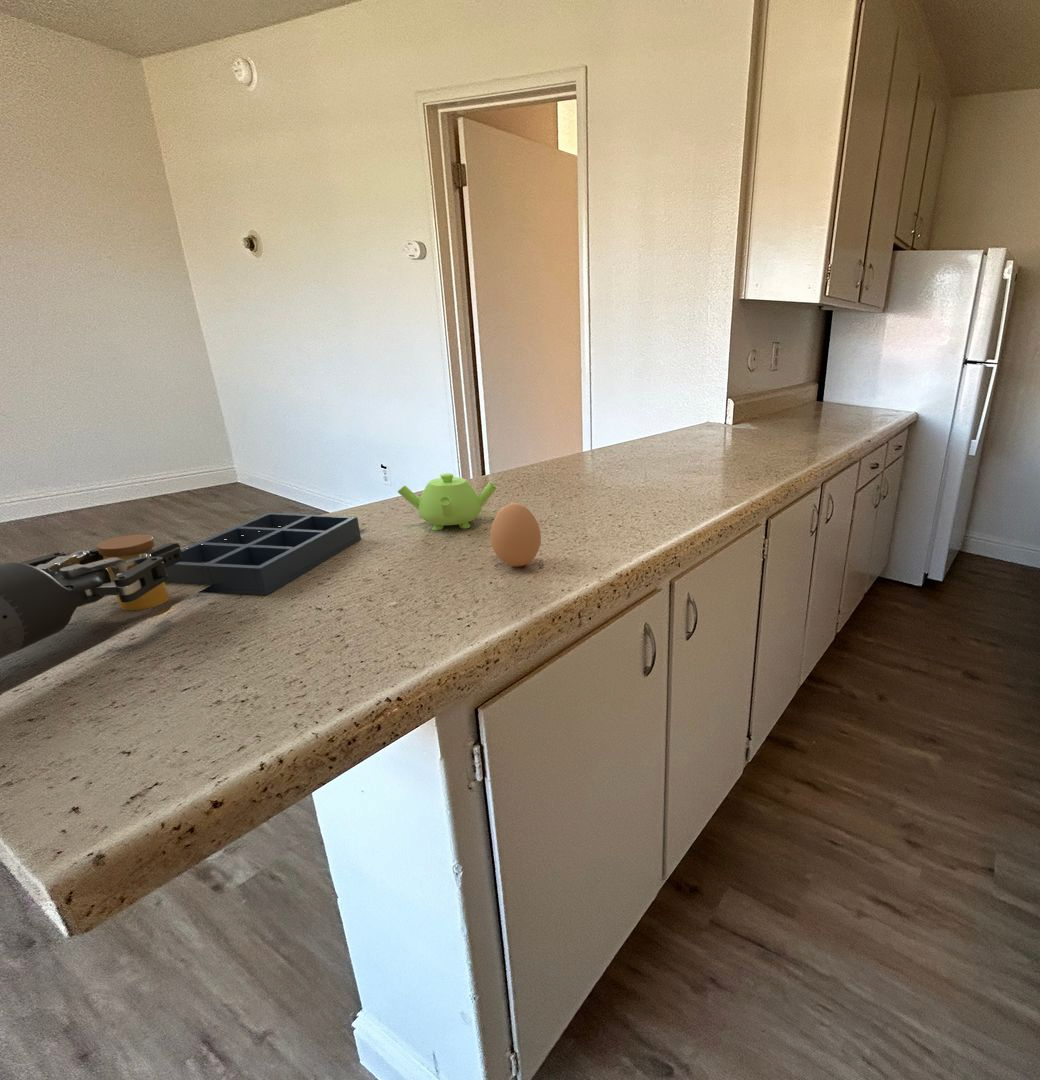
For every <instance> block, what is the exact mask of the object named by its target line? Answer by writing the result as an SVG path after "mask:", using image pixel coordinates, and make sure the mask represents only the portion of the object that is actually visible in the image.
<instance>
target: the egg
mask: <svg viewBox="0 0 1040 1080" xmlns="http://www.w3.org/2000/svg"><path fill="white" fill-rule="evenodd" d="M493 519H494V520H493V521H492V523H491V529H490V543H491V547H492V550H493V552H494V554H495V556H496V557H497V558H498V559H499V560H500V561H502V562H503V563H504V564H506V565H507V566H510V567H514V568H515V567H516V568H518V567H524V566H525V565H528V564H529V563H530V562H532V561H533V559H534V558H535V557H536V556H537V554H538V553H539V550H540V548H541V544H542V534H541V528H540V524H539V522H538V520H537V518H536V517H535V515H534V514H533V513H532V511H531V510H530V509H529V508H527V507H526V506H525V505H523V504H520V503H516V502H513V503H512V502H511V503H509V504H506V505H504V506H503V507H501V509H499V510H498V512H497V513H496V515H495V517H494V518H493Z"/></svg>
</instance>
